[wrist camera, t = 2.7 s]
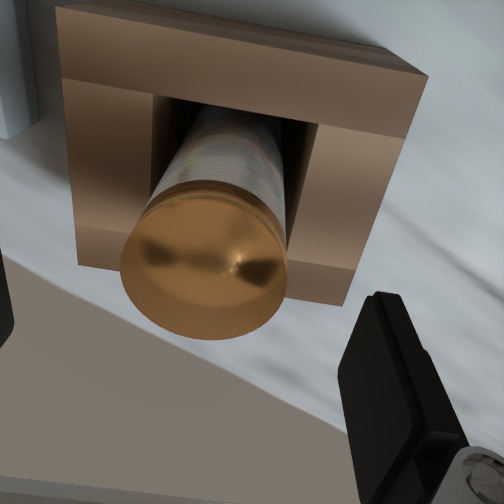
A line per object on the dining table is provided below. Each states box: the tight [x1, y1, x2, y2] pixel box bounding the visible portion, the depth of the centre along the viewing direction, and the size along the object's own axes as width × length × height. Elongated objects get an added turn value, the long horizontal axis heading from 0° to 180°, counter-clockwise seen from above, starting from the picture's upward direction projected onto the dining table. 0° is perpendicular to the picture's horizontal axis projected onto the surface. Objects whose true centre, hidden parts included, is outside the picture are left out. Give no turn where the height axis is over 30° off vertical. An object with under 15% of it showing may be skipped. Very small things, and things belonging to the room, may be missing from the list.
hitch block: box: [55, 0, 429, 307], centre depth 18 cm, size 10×12×6 cm
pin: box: [120, 103, 287, 340], centre depth 16 cm, size 4×4×12 cm
